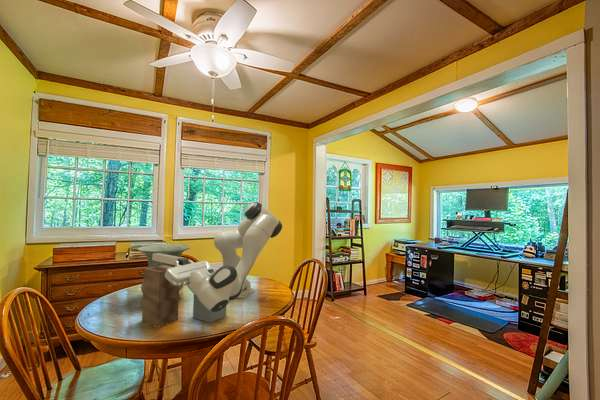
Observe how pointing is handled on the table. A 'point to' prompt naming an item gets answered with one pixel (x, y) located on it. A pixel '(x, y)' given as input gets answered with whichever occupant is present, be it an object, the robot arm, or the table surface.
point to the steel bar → (169, 259)
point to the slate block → (206, 312)
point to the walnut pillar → (159, 297)
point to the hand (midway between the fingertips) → (180, 260)
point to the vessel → (164, 249)
